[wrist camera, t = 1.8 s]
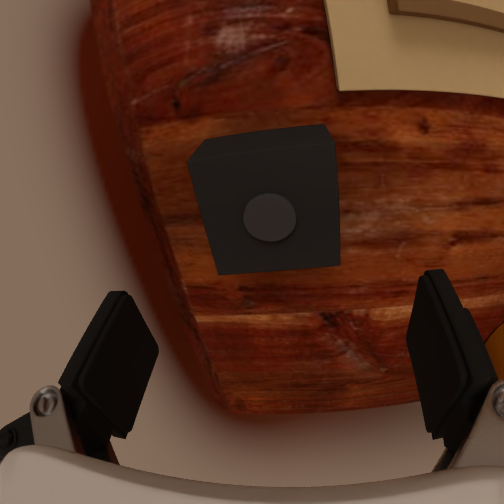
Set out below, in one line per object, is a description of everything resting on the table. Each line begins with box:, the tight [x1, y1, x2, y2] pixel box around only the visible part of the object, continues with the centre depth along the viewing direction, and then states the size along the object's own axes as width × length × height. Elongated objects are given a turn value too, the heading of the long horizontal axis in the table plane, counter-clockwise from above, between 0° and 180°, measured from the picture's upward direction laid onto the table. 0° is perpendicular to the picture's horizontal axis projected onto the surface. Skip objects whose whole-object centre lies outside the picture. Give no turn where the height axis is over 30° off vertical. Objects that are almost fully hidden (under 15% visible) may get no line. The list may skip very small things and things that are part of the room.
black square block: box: [187, 124, 340, 275], centre depth 16 cm, size 6×6×4 cm
